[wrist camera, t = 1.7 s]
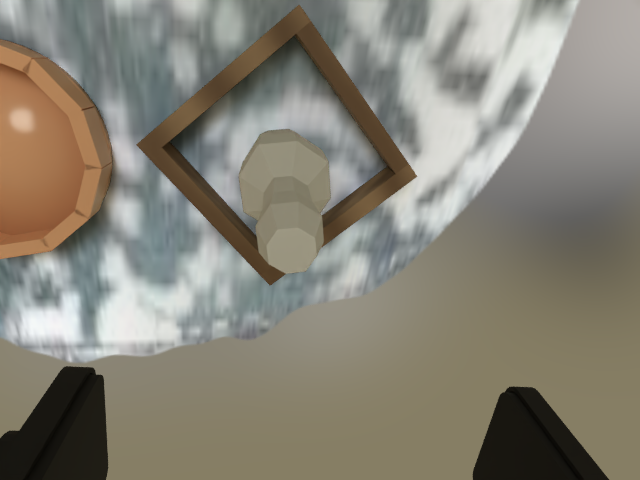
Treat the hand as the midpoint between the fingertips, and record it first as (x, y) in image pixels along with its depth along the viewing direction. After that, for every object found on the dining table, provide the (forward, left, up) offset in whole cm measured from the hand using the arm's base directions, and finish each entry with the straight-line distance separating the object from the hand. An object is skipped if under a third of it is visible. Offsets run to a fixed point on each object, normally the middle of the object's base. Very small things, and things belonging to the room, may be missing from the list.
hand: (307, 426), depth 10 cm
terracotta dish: (+18, -15, -32) cm, 40 cm away
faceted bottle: (0, 0, -32) cm, 32 cm away
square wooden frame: (0, 0, -32) cm, 32 cm away
